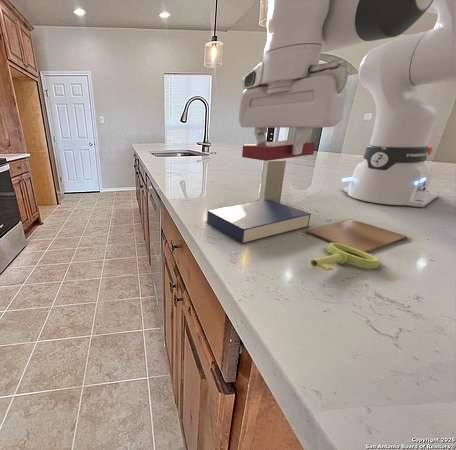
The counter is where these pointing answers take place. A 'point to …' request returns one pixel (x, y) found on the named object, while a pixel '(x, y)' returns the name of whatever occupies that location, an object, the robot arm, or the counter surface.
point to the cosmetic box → (272, 180)
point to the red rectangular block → (275, 150)
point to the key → (345, 257)
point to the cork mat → (357, 235)
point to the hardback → (257, 220)
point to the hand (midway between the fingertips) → (277, 152)
